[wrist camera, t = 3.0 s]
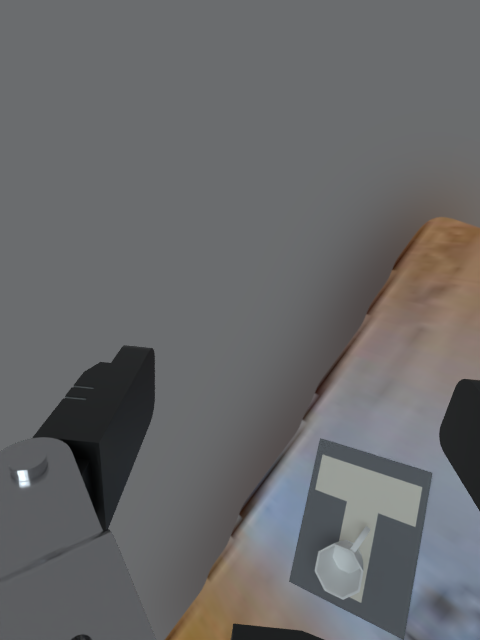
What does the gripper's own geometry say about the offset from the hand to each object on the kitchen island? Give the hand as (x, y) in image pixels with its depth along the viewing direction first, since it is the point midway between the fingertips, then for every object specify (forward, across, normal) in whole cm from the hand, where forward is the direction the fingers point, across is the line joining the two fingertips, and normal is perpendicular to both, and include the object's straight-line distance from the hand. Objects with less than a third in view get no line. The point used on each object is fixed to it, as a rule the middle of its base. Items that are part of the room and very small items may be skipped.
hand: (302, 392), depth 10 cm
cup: (+34, +20, -51) cm, 64 cm away
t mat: (+35, +20, -49) cm, 63 cm away
